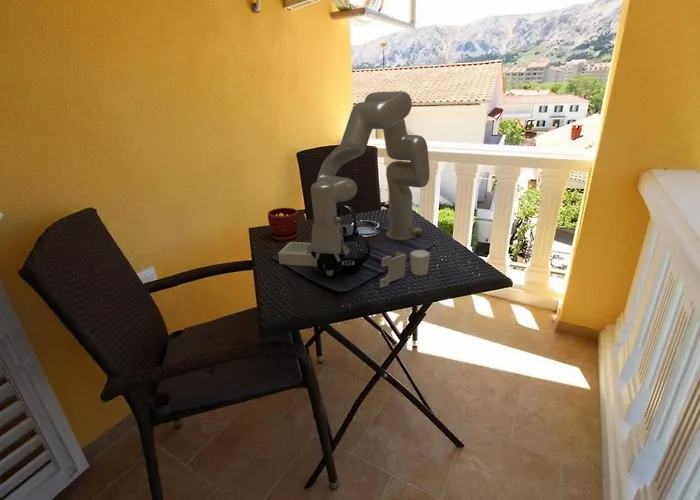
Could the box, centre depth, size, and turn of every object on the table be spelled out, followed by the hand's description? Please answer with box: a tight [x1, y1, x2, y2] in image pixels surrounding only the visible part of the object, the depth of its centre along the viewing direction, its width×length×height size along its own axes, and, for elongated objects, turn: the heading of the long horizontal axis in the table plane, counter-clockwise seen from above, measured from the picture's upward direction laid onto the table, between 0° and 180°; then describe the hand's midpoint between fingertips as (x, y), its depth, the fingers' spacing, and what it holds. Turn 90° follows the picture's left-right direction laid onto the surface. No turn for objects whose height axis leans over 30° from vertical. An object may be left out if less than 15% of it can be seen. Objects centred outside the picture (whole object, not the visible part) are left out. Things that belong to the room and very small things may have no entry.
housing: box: [277, 241, 325, 268], centre depth 142 cm, size 20×11×6 cm, turn 75°
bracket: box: [379, 251, 407, 289], centre depth 123 cm, size 11×4×10 cm, turn 132°
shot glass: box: [409, 249, 431, 276], centre depth 128 cm, size 7×7×7 cm
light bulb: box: [320, 253, 337, 277], centre depth 128 cm, size 6×6×10 cm
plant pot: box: [267, 207, 300, 241], centre depth 164 cm, size 13×13×12 cm
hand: (329, 269), depth 129 cm, fingers closed on light bulb, 5 cm apart
